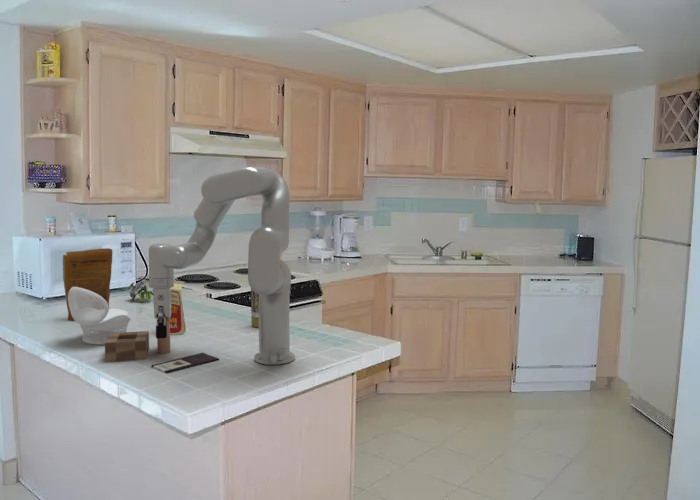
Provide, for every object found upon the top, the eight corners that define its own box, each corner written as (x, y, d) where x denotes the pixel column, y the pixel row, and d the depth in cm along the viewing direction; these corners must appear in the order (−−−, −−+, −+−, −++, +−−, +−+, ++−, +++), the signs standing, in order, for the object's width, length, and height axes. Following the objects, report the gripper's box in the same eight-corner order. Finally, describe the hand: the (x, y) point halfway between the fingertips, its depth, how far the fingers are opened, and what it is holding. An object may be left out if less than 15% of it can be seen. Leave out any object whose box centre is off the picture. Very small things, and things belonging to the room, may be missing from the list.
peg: (170, 353, 197) (169, 317, 195) (157, 354, 196) (156, 317, 194) (170, 349, 201) (169, 314, 199) (158, 350, 200) (156, 314, 198)
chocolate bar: (218, 358, 190) (166, 371, 177) (219, 361, 190) (167, 374, 177) (202, 352, 196) (151, 365, 183) (202, 355, 196) (151, 368, 183)
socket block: (146, 359, 190) (145, 340, 190) (105, 361, 187) (104, 342, 187) (149, 348, 202) (148, 331, 201) (110, 351, 199) (109, 333, 198)
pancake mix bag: (117, 317, 246) (114, 248, 243) (66, 323, 236) (62, 251, 232) (113, 314, 252) (110, 246, 249) (63, 320, 241) (59, 249, 238)
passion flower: (133, 312, 278) (125, 290, 282) (157, 306, 283) (148, 283, 287) (134, 303, 269) (126, 279, 273) (159, 296, 274) (150, 273, 278)
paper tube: (265, 328, 229) (265, 262, 226) (248, 327, 231) (247, 262, 228) (271, 324, 236) (271, 260, 233) (255, 323, 237) (254, 259, 234)
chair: (143, 338, 215) (141, 282, 212) (92, 351, 199) (89, 291, 196) (109, 330, 226) (107, 276, 224) (58, 341, 210) (55, 284, 207)
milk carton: (160, 335, 218) (158, 280, 216) (160, 329, 227) (159, 276, 225) (186, 334, 221) (184, 279, 218) (186, 328, 229) (184, 275, 227)
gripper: (172, 286, 188) (173, 340, 190) (174, 277, 205) (175, 327, 207) (147, 287, 186) (148, 341, 188) (151, 277, 203) (151, 327, 205)
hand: (162, 334), depth 198 cm, fingers open, 9 cm apart
